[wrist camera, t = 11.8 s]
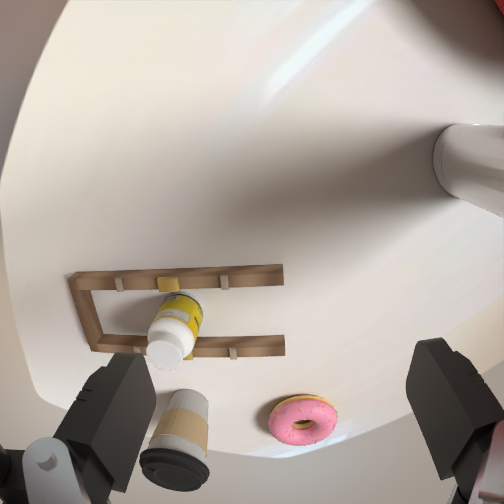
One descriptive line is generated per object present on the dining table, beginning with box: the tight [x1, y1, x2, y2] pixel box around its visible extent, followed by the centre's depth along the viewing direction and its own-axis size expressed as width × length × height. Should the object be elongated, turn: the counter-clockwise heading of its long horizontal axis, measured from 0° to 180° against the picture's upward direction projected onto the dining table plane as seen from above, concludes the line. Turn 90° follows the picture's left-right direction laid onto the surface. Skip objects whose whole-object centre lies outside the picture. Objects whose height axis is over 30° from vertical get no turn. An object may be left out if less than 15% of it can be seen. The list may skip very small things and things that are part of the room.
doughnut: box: [267, 395, 338, 446], centre depth 45 cm, size 11×11×4 cm
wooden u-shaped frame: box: [68, 264, 285, 360], centre depth 39 cm, size 28×12×3 cm, turn 94°
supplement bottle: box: [146, 292, 203, 370], centre depth 36 cm, size 5×5×10 cm
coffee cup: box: [139, 389, 210, 492], centre depth 40 cm, size 9×9×15 cm
